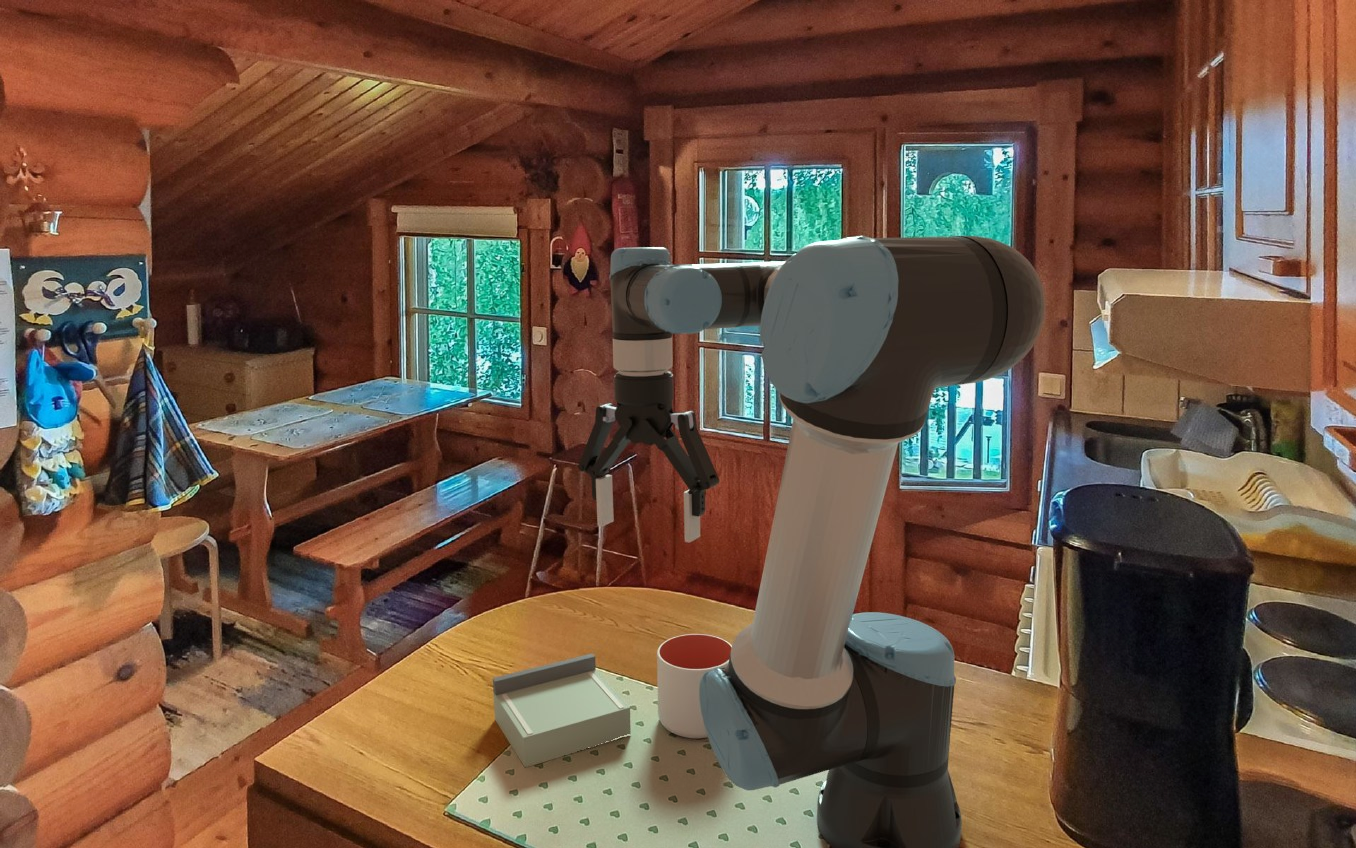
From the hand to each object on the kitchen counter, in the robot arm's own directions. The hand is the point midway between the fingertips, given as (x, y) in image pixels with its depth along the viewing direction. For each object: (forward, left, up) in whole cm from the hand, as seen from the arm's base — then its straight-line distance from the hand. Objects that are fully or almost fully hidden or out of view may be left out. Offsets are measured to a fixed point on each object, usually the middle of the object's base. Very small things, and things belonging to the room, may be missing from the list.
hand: (647, 531), depth 119 cm
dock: (-2, +14, -24) cm, 27 cm away
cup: (-9, -2, -24) cm, 26 cm away
